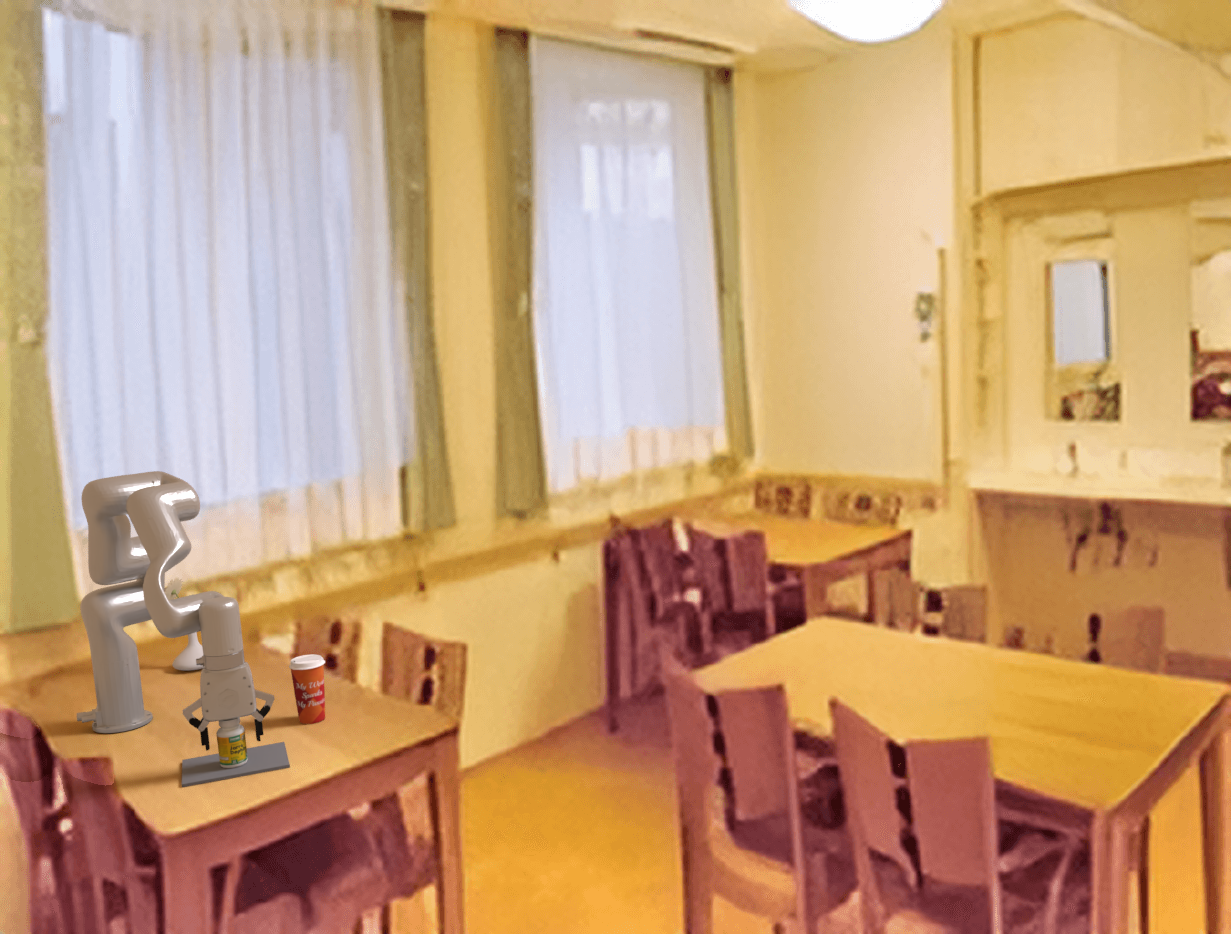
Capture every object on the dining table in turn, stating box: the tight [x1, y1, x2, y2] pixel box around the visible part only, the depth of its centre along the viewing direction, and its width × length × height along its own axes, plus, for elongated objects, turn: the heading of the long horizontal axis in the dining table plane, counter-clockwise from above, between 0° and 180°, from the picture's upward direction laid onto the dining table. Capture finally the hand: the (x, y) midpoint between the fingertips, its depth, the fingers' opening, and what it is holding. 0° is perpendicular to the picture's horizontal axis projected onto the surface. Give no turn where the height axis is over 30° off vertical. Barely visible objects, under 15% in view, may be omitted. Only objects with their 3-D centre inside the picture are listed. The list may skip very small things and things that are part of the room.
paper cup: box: [288, 653, 326, 725], centre depth 248 cm, size 8×8×14 cm
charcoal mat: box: [181, 741, 291, 788], centre depth 225 cm, size 20×14×1 cm
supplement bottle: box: [216, 717, 248, 768], centre depth 223 cm, size 5×5×10 cm
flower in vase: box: [164, 577, 205, 672], centre depth 294 cm, size 13×11×25 cm
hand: (233, 743), depth 223 cm, fingers open, 9 cm apart
